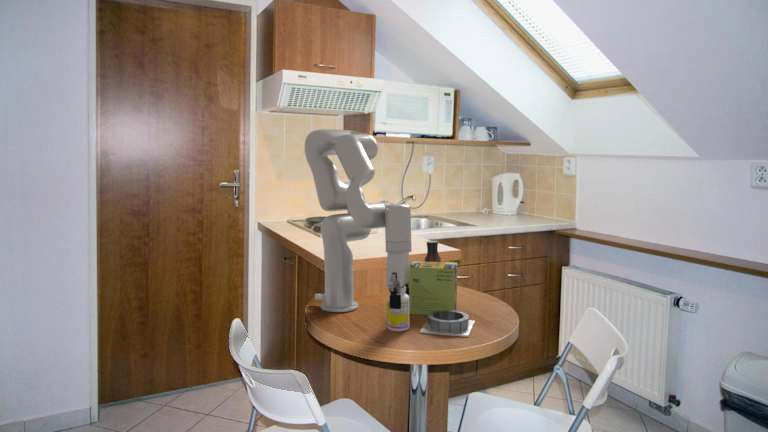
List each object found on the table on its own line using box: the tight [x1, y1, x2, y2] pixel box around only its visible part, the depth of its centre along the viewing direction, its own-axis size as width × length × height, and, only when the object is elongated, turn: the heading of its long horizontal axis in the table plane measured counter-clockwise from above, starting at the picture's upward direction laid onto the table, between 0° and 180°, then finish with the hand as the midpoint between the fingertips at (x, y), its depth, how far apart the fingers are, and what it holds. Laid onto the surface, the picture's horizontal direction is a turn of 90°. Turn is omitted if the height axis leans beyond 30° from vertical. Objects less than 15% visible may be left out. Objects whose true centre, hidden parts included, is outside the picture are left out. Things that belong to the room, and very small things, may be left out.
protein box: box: [409, 261, 458, 316], centre depth 179 cm, size 10×15×16 cm
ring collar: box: [419, 309, 476, 338], centre depth 162 cm, size 14×14×4 cm
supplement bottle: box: [386, 285, 411, 333], centre depth 161 cm, size 7×7×13 cm
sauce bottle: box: [424, 240, 442, 262], centre depth 199 cm, size 7×6×20 cm
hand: (399, 304), depth 160 cm, fingers open, 9 cm apart
